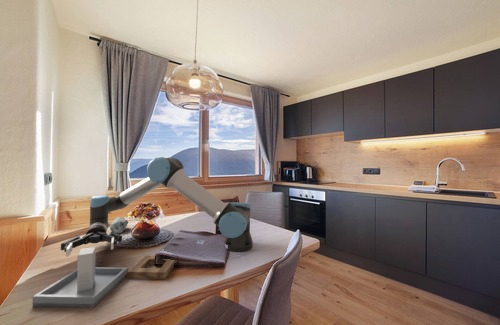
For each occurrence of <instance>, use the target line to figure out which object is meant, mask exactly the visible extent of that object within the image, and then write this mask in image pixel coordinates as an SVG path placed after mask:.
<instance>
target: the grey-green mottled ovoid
mask: <svg viewBox="0 0 500 325" xmlns="http://www.w3.org/2000/svg"><path fill="white" fill-rule="evenodd" d="M125 218H126V217H123V216H119V217H116V218H115V219H114V220H112V222H111V223H110V226H109V230H110V232H111V231H114V233H117V234H121V233H123V232H124V230H125V229H126V228H127V226H128V223H129V220H128V219H127V220H125Z"/></svg>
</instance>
